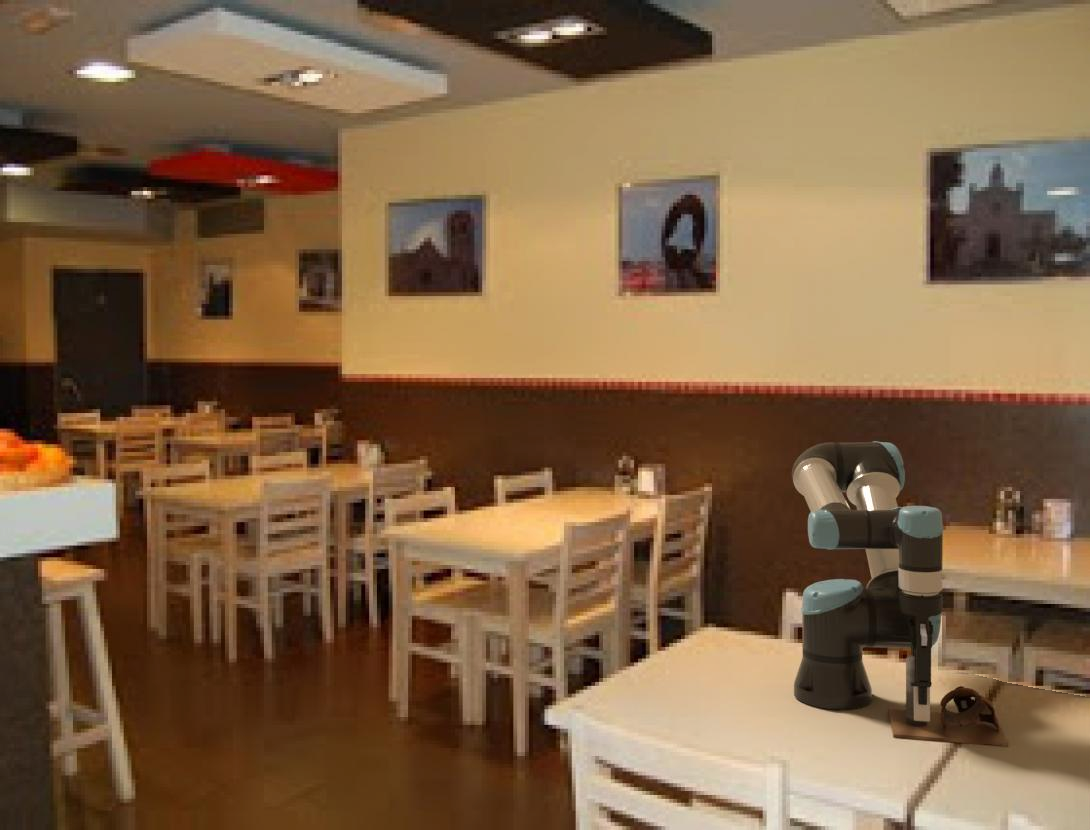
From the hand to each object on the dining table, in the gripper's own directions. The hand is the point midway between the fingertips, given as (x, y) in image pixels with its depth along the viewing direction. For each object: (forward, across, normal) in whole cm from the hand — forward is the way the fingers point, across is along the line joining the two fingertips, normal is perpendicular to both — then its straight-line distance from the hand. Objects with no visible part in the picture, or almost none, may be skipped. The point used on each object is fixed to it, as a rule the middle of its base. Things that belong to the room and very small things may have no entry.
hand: (920, 715), depth 179 cm
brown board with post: (+2, 0, -4) cm, 5 cm away
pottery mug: (+2, 0, -8) cm, 8 cm away
